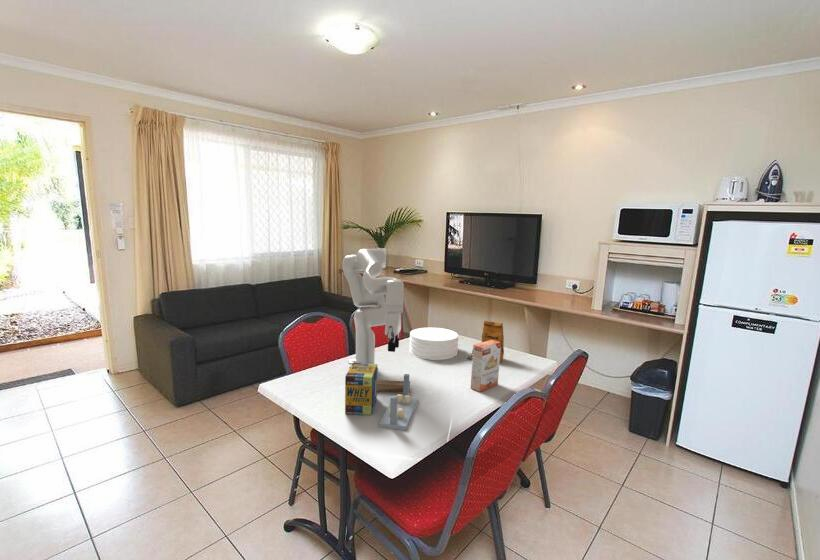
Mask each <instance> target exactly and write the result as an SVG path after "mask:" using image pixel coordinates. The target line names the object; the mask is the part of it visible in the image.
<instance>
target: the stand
mask: <svg viewBox="0 0 820 560" xmlns="http://www.w3.org/2000/svg"><path fill="white" fill-rule="evenodd" d="M403 381H404V386H403V393H397V394H395V395H393V394H392V395H391V396H390V404H388V407H387V408H386V410H385V412H384V414H383V416H382V417H381V419H380V421H379V423H378V427H379V428H385V429H393V430H400V431H407V428H408V427H409V424H410V421H411V419H412V417H413V414H414V412H415V410H416V407H417V405H418V403H419V397H413V396H412V397H411V395H410V393H409V381H410V374H409V373H404V375H403Z"/></svg>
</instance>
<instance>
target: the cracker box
mask: <svg viewBox="0 0 820 560" xmlns="http://www.w3.org/2000/svg"><path fill="white" fill-rule="evenodd" d="M472 346H473V347H472V350H473V354H472V355H473V359H472V361H471V373H470V374H471V375H470V376H471V377H470V389H472V390H474V391H477V392H479V393H481V392H483V391H486V390H488V389H491V388H492V387H495V386H498V384H499V372H500V371H499V370H500V363H501V362H500V350H501V342H498V341H494V340H489V341H485V342H482V341H481V342H478V343H476V344H473V345H472Z"/></svg>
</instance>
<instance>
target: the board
mask: <svg viewBox="0 0 820 560" xmlns="http://www.w3.org/2000/svg"><path fill="white" fill-rule="evenodd" d="M403 386H404V380H391V379H390V380H389V379H388V380H387V379H386V380H384V379H377V393H394V394H395V393H397V394H403ZM410 391H411V381H410V380H409V394H410Z"/></svg>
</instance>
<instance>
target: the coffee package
mask: <svg viewBox="0 0 820 560" xmlns="http://www.w3.org/2000/svg"><path fill="white" fill-rule="evenodd" d="M482 326H483V327H482V333H481V343H482V342H485V341H489V340H494V341H498V342H501V350H500V363H501V362H503V361H504V356H505V355H504V353H505V349H504V338H505V336H504V326H503V322H496V321H491V320H490V321H488V320H484V321H483V325H482ZM502 360H503V361H502Z"/></svg>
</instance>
